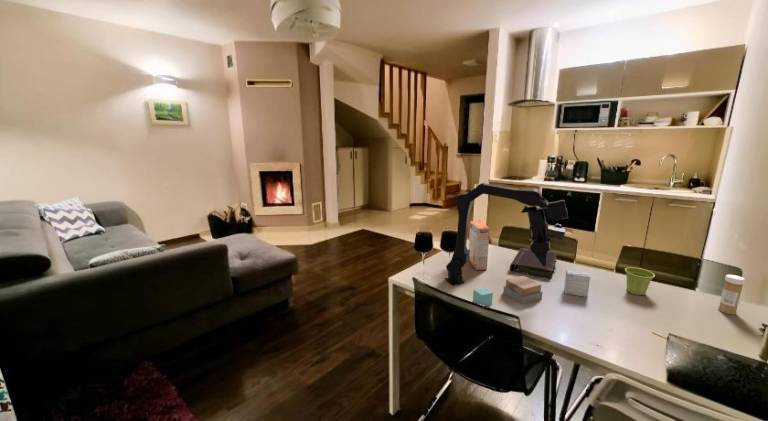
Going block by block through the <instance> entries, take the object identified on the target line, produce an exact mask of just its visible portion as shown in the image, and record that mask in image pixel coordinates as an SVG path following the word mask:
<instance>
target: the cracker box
mask: <svg viewBox="0 0 768 421" xmlns="http://www.w3.org/2000/svg"><path fill="white" fill-rule="evenodd" d="M490 230H491V229H490V227H489V226H488V225H486V224H485V223H484V222H483V221H481V220H469V238H468V241H469V242H468V250H470V254H469V256H470V258H469V260H468V262H469V263H470V265H471V266H472V267H473V269H474V271H475V270H476V271H480V270H481V271H487V270H488V269H487V268H488V257H489V242H490Z"/></svg>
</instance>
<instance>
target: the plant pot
mask: <svg viewBox="0 0 768 421" xmlns="http://www.w3.org/2000/svg"><path fill="white" fill-rule="evenodd" d="M624 271H625V274H626V291H627V292H629V293H630V294H632V295H635V296H636V295H638V296H641V295H642V296H645V295H646V293H647V290H648V289H649V286H650V285H651V284H650V283H651V281H652V280H653V279H654V278H655V276H656V275H655V273H653V272H652V271H650V270H647V269H644V268H639V267H626V268H624Z"/></svg>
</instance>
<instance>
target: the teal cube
mask: <svg viewBox="0 0 768 421" xmlns="http://www.w3.org/2000/svg"><path fill="white" fill-rule="evenodd" d="M493 295H494V292H493V291H491V290H489V289H487V288H486V287H485V286H482V287H478V288H474V289H473V292H472V302H474V303H475V304H476V303H478V304H481V305H484V307H487V306H491V305H493V297H494V296H493ZM478 304H477V305H478Z"/></svg>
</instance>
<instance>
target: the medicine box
mask: <svg viewBox="0 0 768 421" xmlns="http://www.w3.org/2000/svg"><path fill="white" fill-rule="evenodd" d="M564 279H565V280H564V286H563V287H564V288H563V289H564V294H567V295H573V296H579V297H586V298H588V296H589V288H590V281H591V277H590V274H589V273H588V272H582V271H576V270H568V269H567V270H565V278H564Z"/></svg>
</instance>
